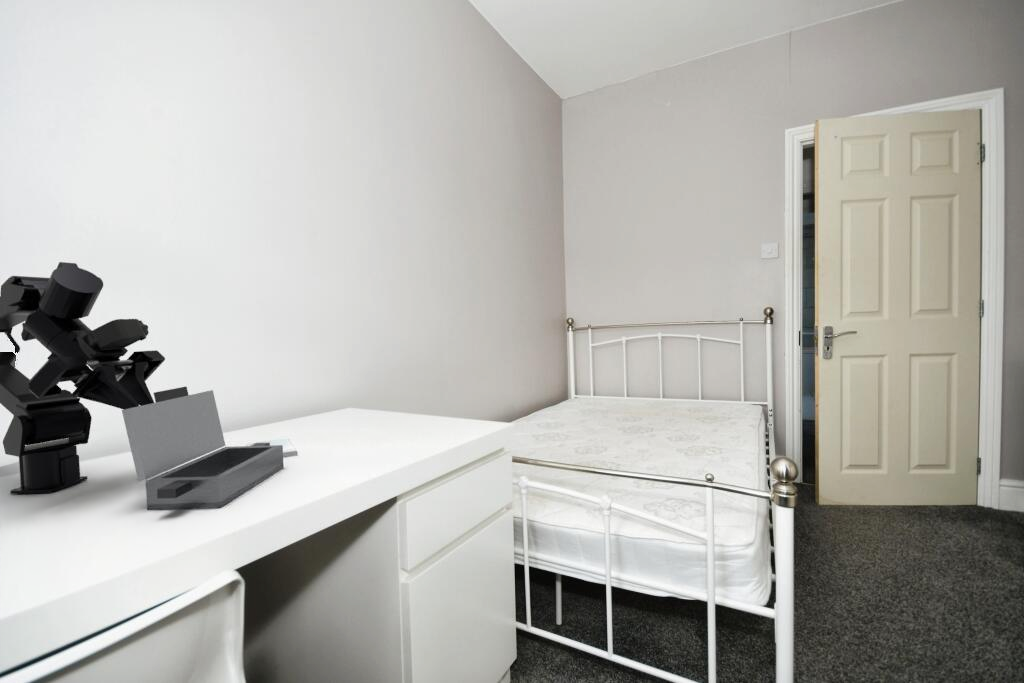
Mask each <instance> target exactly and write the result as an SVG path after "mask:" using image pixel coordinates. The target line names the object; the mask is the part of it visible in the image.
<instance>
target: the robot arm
mask: <svg viewBox="0 0 1024 683" xmlns="http://www.w3.org/2000/svg"><path fill="white" fill-rule="evenodd" d="M103 287H104V281H103V279H102V278H101V277H98V276H97V275H96V274H95V273H93V272H91V271H89V270H86V269H84V268H81V267H79V266H78V264H77V263H75V262H64V261H63V262H62V261H59V263H58V265H57V267H56V268H55V269H53V271H52V272H51V275H50V277H42V276H20V275H11V276H10V277H9V278H7V279H6V280H5V281H4V282H3V283H2V284H1V285H0V333H4V334H5V336H6V335H7V336H6V337H7V339H8V338H9V339H10V341H11V342H12V343H13V345H14V346H15V353H16V352H17V353H18V352H19V353H20V351H21V346H19V344H18V342H17V341H16V339H15V338H14V337H13V336H12V330H13V328H14V327H16V326H17V325H19V324H21V326H22V331H21V333H20V335H21V339H22V341H23V342H28V341H31V340H36V341H38V342H39V343H40V344H41V345H42V346H43V347H44V348H46V350H48V351H49V352H50V355H48V357H47V361H46V362H45V363H44V364H43V365H42V366H41V367H40V368H39V370H38V371H37V372H36V373H34V375H33V376H32V377H31V378H29V377H27V376H26V375H25V374H24V373H23V372H21V371H20V370H19V369H18V368H16V366H15V361H16V355H15V354H14V353H13V352H0V404H1V406H2V407H4V408H5V409H6V410H7V411H8V412H9V413H10V414H12V416H13V417H12V419H11V421H10V424H9V426H8V428H7V430H6V433H5V435H4V438H3V439H2V445H3V449H4V453H5V455H8V456H13V457H17V458H18V462H19V479H20V487H16V488H13V489H11V490H10V491H9V492H10V494H38V493H39V494H40V493H41V494H42V493H43V494H45V493H52V492H56V491H59V490H61V489H64V488H68V487H69V486H72V485H75V484H78V483H81V482H83V481H86V480H87V479H88V476H86V475H85V476H83V475H81V467H80V455H79V454H78V450H77V446H79V445H86V444H88V443H89V438H90V431H91V425H92V415H91V412H90V410H89V409H88V408H87V407H86V406H85V405H84V404H83V403H82V402H80V401H81V399H85V400H88V401H92V402H95V403H100V404H104V405H108V406H111V407H113V408H117V409H120V410H124V409H129V408H133V407H138V406H142V405H147V404H151V403H155V400H154V399H153V396H152V394H151V392H150V390H149V388H148V386H147V384H146V381H147V380H148V379H149V378H150V376H152V374H153V373H154V372H155V371H156V370H157V369H158V368H159V367H160V366H161V365H162V364H163V363H164V362H165V361H166V357H165V356H164V355H162V354H161V352H159V351H158V349H157V350H140V351H139V350H138V351H133V352H132V353H131V354H130V356H129V357H128V358H127V359H123V360H121V359H120V358H121V357H123V356H125V355H126V354H127V353H128V349H127V347H129V346H130V345H133V344H135V343H137V342H139V341H144V340H146V339H147V336H148V335H149V326H148V325H147V324H145V323H143V321H142V320H139V319H138V318H118V319H113V320H110V321H109V322H106V323H105V324H102V325H101V326H98V327H96V328H94V329H91V328H90V327H89V326H87V325H86V324H85V323H84V322H83V321H82V320H81V319H82V318H86V317H89V315H90V313H91V311H92V309H93V307H94V305H95V304H96V301H97V300H98V297H99V296H100V294H101V292H102V290H103ZM63 382H72V383H73V386H74V387H75V389H74V390H73V392H71V391H69V390H67V389H62V388H61V387H60V386H59V385H58V384H59V383H63Z"/></svg>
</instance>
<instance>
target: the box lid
mask: <svg viewBox="0 0 1024 683" xmlns="http://www.w3.org/2000/svg"><path fill="white" fill-rule="evenodd" d="M153 396H154V403H151V404H147V405H142V406H140V405H139V406H138V407H133V408H129V409H121V413H122V417H123V421H124V425H125V429H126V434H127V438H128V442H129V446H130V447H129V448H130V452H131V455H132V460H133V465H134V467H135V473H136V477H137V480H138V482H141V481H147V480H149V479H152V478H154V477H156V476H159V475H161V474H163V473H166V472H168V471H170V470H173V469H175V468H177V467H180V466H182V465H184V464H187V463H189V462H191V461H194V460H196V459H198V458H201V457H203V456H205V455H208V454H210V453H212V452H215V451H217V450H219V449H222V448H224V447H226V442H225V438H224V433H223V430H222V424H221V419H220V416H219V412H218V407H217V402H216V399H215V394H214V389H211V390H207V391H202V392H198V393H193V394H189V392H188V387H187V386H182V387H177V388H171V389H170V388H169V389H165V390H160V391H155V392H153Z"/></svg>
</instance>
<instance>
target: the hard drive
mask: <svg viewBox="0 0 1024 683" xmlns="http://www.w3.org/2000/svg"><path fill="white" fill-rule="evenodd" d="M255 443H270V446H273V445H283V459H284V458H290V457H296V456H298V451H297V449H296V447H295V446H294V445H293V443H292V442H291V440H290V438H288V437H287V438H279V439H271V440H265V441H257V442H251V443H247V444H245V446H251V445H253V444H255Z"/></svg>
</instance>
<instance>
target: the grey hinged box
mask: <svg viewBox="0 0 1024 683" xmlns="http://www.w3.org/2000/svg"><path fill="white" fill-rule="evenodd" d="M254 443H255V444H253V445H251V446H246V445H243V446H224V447H221V448H219V449H216V450H214V451H212V452H209V453H207V454H205V455H202V456H200V457H198V458H195V459H193V460H191V461H188V462H186V463H184V464H181V465H179V466H177V467H174V468H172V469H170V470H167V471H165V472H162V473H160V474H158V475H155V476H153V477H151V478H148V479H146V480H145V493H146V496H145V497H146V510H147V511H151V510H152V511H154V510H155V511H156V510H157V511H158V510H161V511H162V510H191V509H192V510H193V509H194V510H195V509H196V510H197V509H222V507H224V506H225V505H227V504H229V503H230V502H232V501H233V500H235V499H236V498H238V497H240V496H241V495H244V494H245V493H246V492H248V491H249V490H251V489H253V488H254V487H256V486H257V485H259V484H260V483H262V482H263V481H265V480H266V479H268V478H269V477H271V476H273V475H274V474H276V473H278V472H279V471H281V470H282V469H284V458H283V445H273V446H270V443H257V442H254Z"/></svg>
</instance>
